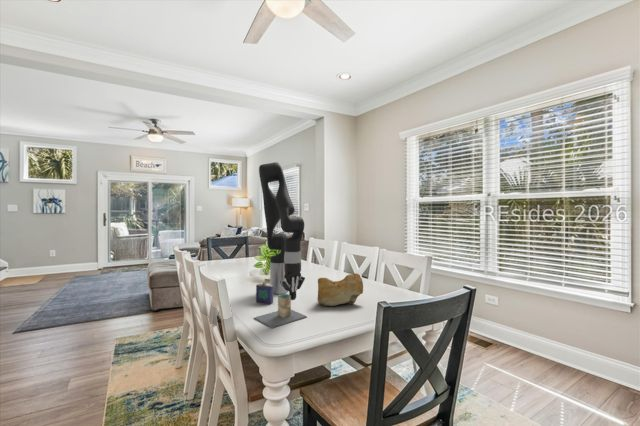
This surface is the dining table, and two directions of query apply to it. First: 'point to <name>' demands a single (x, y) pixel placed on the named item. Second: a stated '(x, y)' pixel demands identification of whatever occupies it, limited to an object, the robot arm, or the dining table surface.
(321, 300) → the rough brown rock
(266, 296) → the flask
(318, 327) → the dining table surface
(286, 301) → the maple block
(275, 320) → the rubber mat
